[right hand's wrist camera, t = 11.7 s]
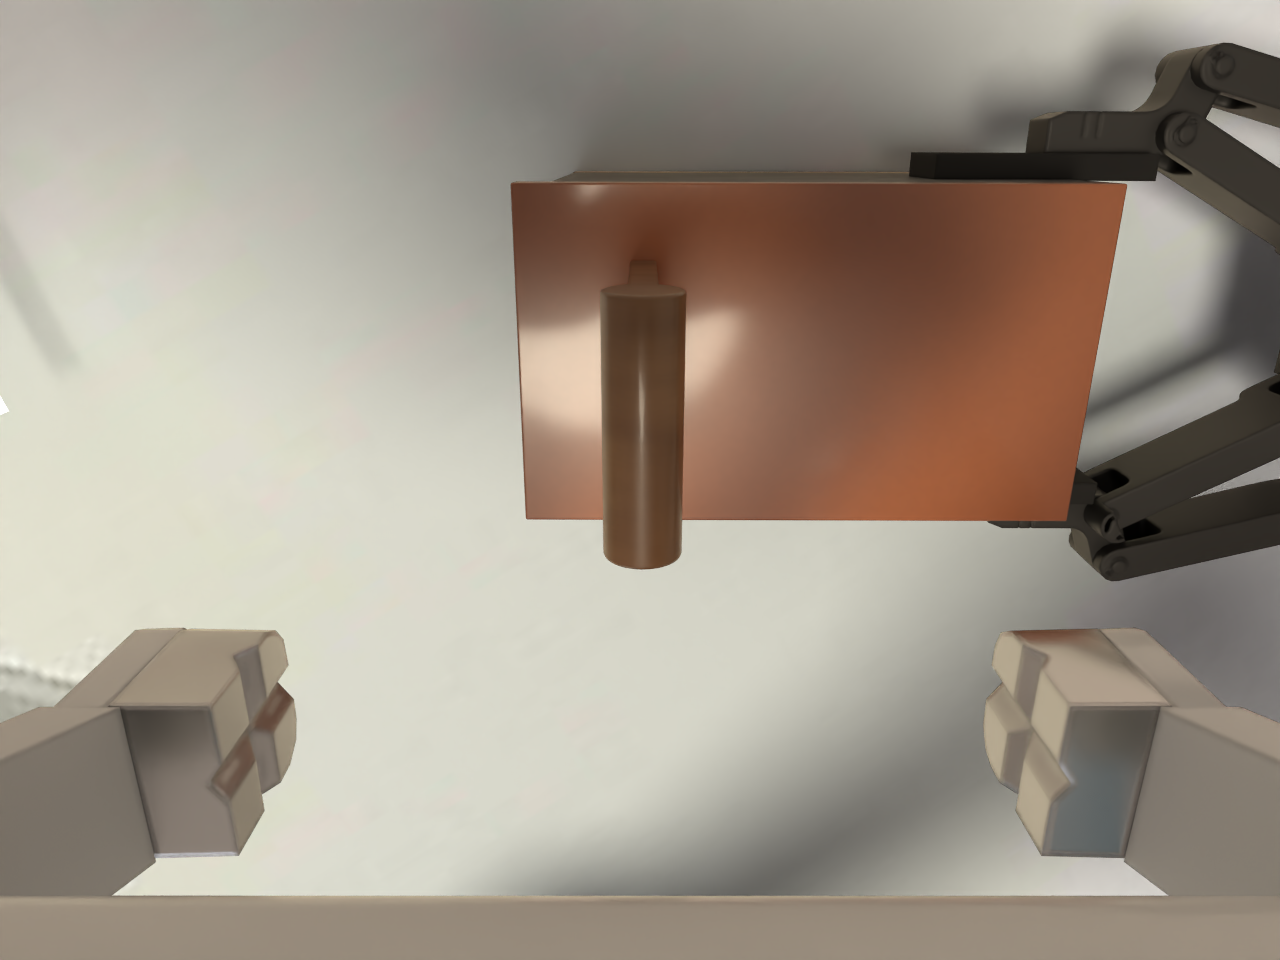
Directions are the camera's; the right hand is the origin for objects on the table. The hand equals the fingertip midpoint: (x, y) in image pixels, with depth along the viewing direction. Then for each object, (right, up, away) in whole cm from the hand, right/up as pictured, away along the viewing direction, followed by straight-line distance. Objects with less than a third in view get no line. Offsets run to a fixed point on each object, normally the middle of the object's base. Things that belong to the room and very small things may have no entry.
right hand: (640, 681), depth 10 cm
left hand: (+9, +7, +19) cm, 22 cm away
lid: (+5, +6, +16) cm, 17 cm away
